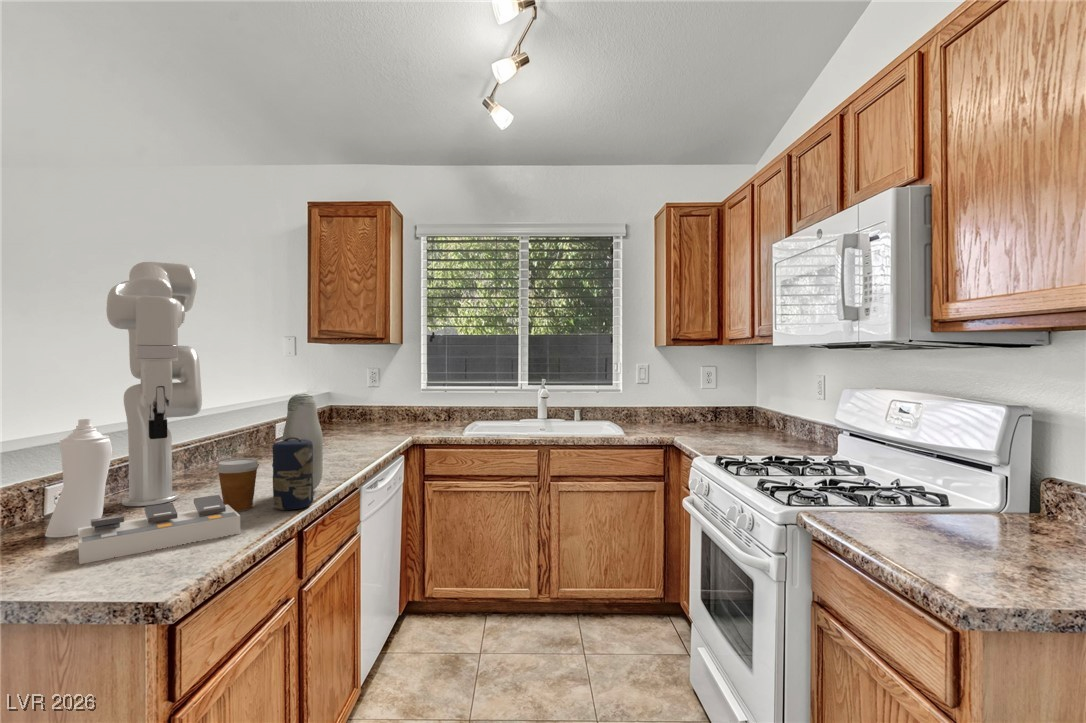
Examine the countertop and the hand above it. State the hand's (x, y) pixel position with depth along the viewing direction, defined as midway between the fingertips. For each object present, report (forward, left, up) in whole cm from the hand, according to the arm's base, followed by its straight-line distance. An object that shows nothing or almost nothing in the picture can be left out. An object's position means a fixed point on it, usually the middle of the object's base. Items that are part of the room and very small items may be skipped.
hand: (158, 437), depth 121 cm
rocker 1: (+4, -9, -15) cm, 18 cm away
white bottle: (-15, -13, -21) cm, 29 cm away
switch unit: (+5, 0, -21) cm, 22 cm away
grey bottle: (-18, +36, -21) cm, 45 cm away
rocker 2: (+4, +9, -15) cm, 18 cm away
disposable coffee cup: (-12, +18, -21) cm, 30 cm away
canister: (-4, +29, -21) cm, 36 cm away
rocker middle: (+4, 0, -15) cm, 16 cm away
